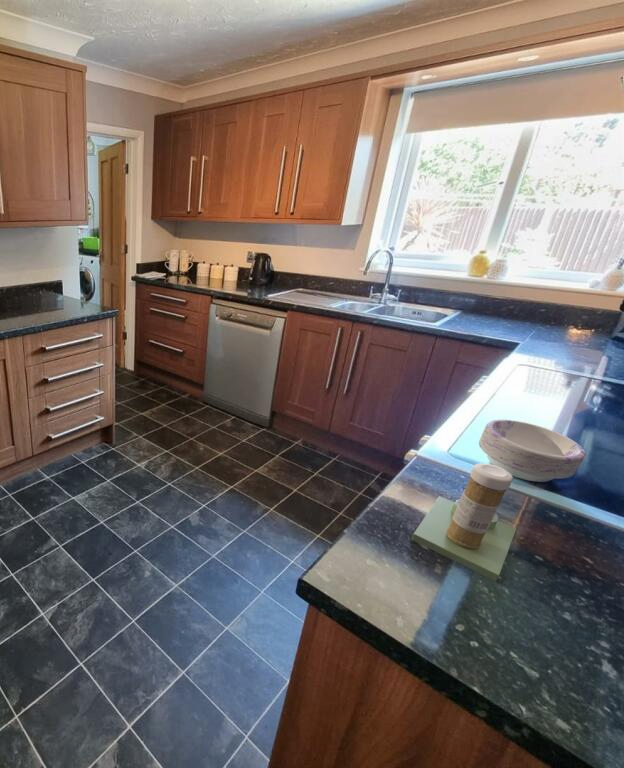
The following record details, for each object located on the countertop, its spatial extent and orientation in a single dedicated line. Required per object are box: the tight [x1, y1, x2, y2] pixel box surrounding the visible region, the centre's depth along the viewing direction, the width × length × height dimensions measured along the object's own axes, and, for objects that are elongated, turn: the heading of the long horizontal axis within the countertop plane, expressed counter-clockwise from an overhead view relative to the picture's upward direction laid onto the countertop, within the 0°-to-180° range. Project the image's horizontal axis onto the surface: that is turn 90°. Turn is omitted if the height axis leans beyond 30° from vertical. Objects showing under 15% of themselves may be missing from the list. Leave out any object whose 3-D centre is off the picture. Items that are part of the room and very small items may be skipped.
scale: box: [411, 495, 517, 582], centre depth 70 cm, size 16×11×3 cm
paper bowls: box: [478, 419, 587, 483], centre depth 88 cm, size 15×15×8 cm
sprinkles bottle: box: [446, 462, 514, 549], centre depth 66 cm, size 5×5×13 cm
